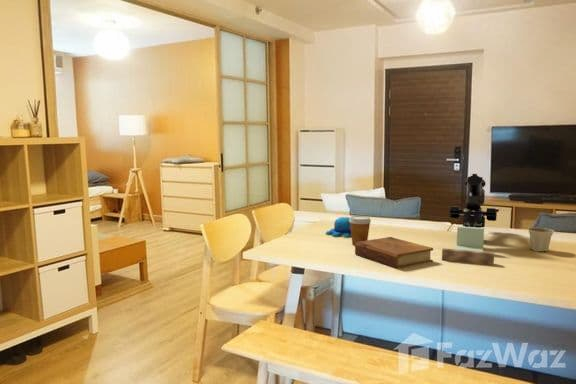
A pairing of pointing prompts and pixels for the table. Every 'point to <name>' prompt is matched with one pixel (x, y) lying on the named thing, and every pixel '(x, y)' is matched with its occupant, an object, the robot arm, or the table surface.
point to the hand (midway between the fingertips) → (471, 229)
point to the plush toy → (341, 228)
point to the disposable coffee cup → (359, 228)
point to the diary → (393, 252)
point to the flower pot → (540, 238)
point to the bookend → (470, 238)
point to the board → (468, 256)
